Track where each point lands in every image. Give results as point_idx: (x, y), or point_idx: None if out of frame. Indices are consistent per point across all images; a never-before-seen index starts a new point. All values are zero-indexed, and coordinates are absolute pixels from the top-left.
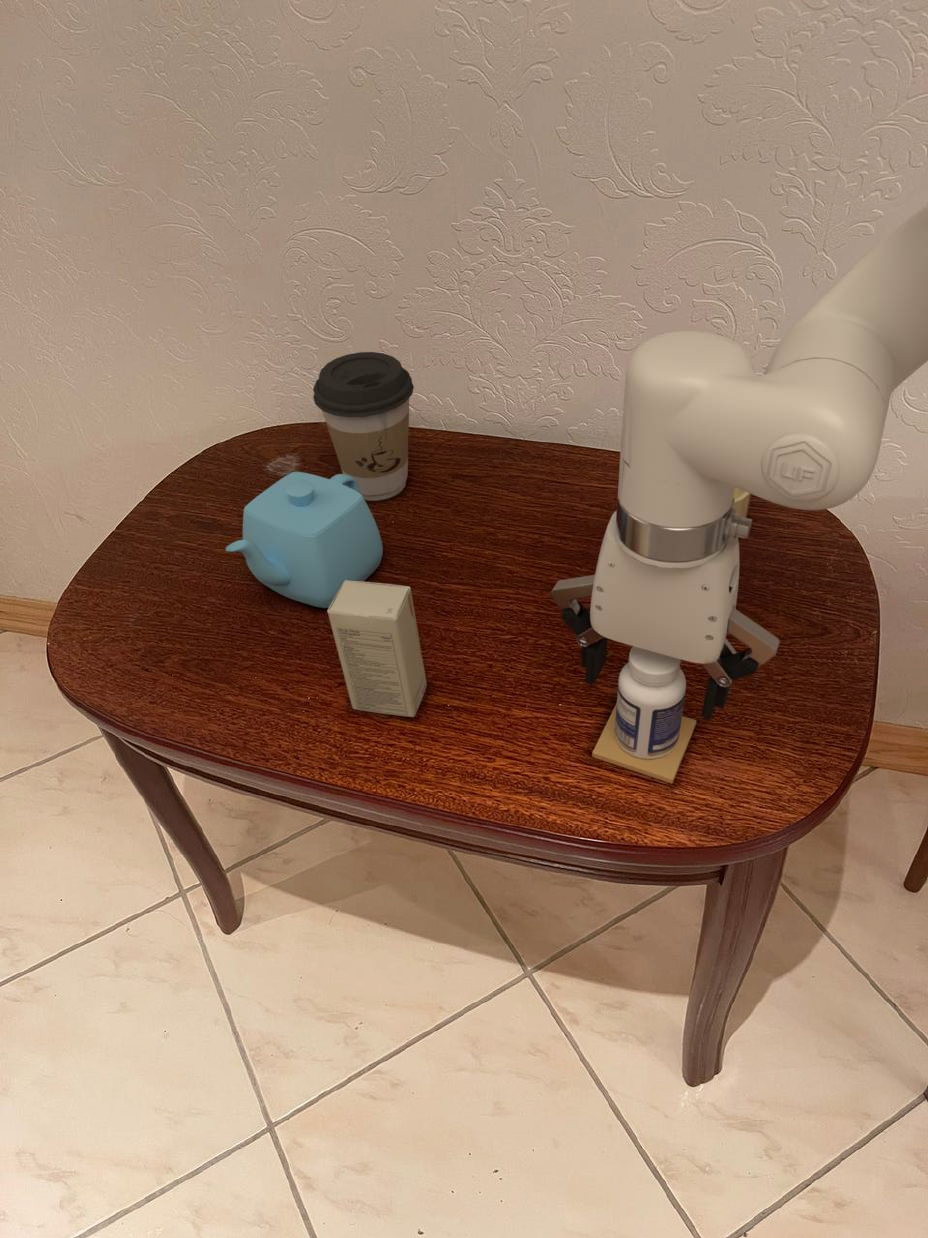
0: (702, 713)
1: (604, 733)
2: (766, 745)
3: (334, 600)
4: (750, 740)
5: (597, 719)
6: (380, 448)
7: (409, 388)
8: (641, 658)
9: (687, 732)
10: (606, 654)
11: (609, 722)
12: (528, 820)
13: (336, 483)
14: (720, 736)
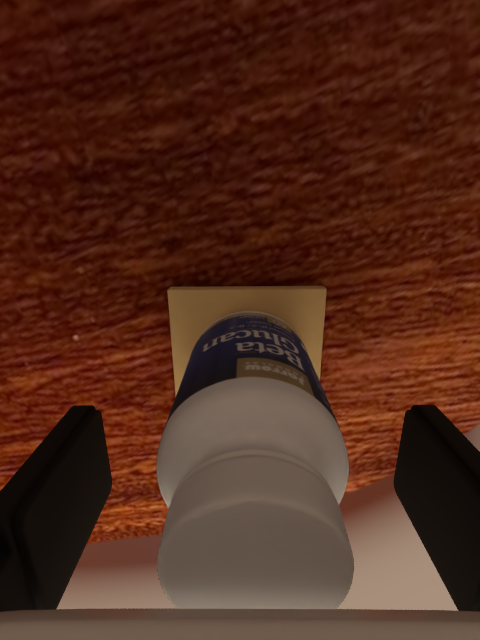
0: (401, 500)
1: (179, 383)
2: (457, 280)
3: None
4: (427, 280)
5: (152, 343)
6: None
7: None
8: (211, 595)
9: (316, 323)
10: (87, 423)
11: (176, 357)
12: (149, 532)
13: None
14: (372, 293)
